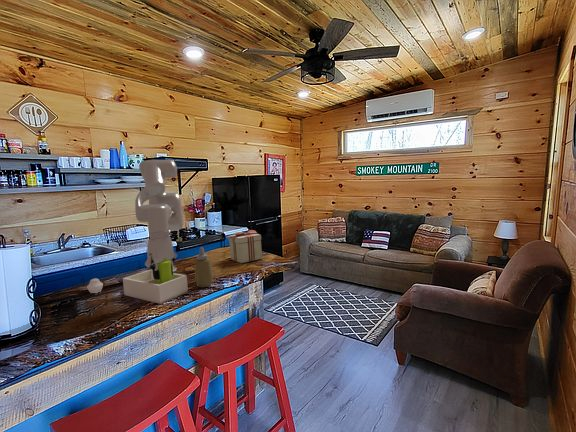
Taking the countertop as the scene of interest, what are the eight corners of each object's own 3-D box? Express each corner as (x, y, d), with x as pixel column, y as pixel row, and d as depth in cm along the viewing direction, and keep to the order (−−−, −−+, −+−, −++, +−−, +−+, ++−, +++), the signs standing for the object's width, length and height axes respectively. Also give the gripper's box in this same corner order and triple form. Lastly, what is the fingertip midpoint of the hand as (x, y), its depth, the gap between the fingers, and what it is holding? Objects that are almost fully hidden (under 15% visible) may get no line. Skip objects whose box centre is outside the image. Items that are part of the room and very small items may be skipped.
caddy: (124, 295, 133) (122, 278, 132) (152, 284, 145) (151, 269, 144) (160, 303, 121) (158, 285, 120) (188, 291, 133) (186, 275, 132)
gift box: (248, 254, 198) (246, 227, 195) (264, 258, 183) (262, 230, 181) (224, 259, 187) (222, 231, 185) (239, 264, 173) (237, 235, 171)
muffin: (106, 292, 138) (105, 277, 137) (92, 296, 133) (90, 281, 132) (99, 290, 141) (97, 275, 140) (85, 294, 136) (83, 279, 135)
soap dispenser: (167, 287, 135) (163, 243, 132) (175, 290, 130) (171, 245, 128) (154, 291, 130) (149, 246, 128) (163, 295, 126) (158, 247, 123)
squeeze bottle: (195, 289, 136) (191, 250, 133) (195, 283, 143) (192, 246, 141) (214, 287, 138) (210, 248, 135) (213, 281, 145) (210, 244, 143)
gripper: (170, 231, 136) (174, 270, 139) (134, 238, 122) (139, 282, 124) (182, 231, 133) (185, 271, 135) (146, 239, 118) (151, 284, 120)
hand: (163, 276), depth 129 cm, fingers closed on soap dispenser, 6 cm apart
